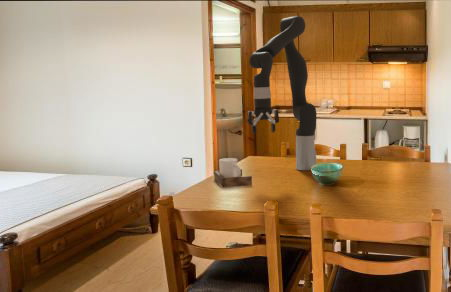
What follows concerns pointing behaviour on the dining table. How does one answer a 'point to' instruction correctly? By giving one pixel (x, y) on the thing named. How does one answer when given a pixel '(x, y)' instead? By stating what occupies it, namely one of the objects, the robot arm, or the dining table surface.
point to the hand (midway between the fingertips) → (263, 133)
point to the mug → (229, 167)
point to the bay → (232, 180)
